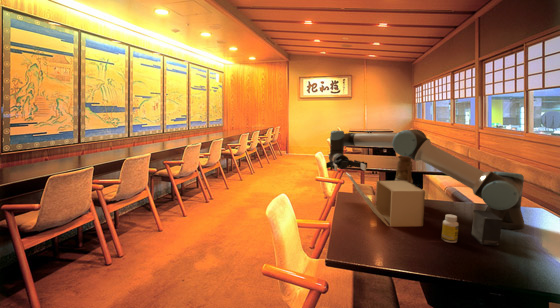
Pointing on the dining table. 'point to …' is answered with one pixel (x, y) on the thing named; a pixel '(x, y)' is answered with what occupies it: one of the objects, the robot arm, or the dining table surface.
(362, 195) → the front flap
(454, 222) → the supplement bottle
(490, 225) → the small box
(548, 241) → the dining table surface
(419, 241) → the dining table surface
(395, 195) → the carton
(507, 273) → the dining table surface
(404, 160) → the lantern
